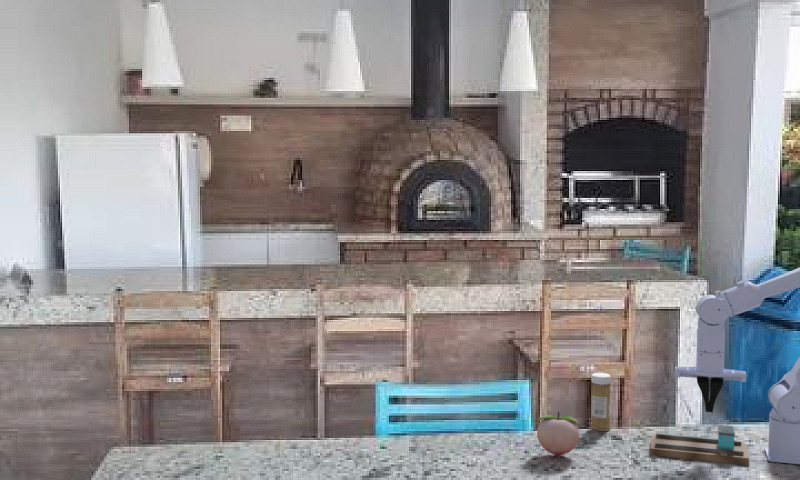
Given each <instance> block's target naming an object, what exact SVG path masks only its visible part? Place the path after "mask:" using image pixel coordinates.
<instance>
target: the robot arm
mask: <svg viewBox="0 0 800 480" xmlns="http://www.w3.org/2000/svg"><path fill="white" fill-rule="evenodd" d="M799 288H800V267H797V268H795V269H793V270H790V271H787V272H785V273H783V274H780V275H778V276H776V277H773V278H771V279H768V280H765V281H763V282H761V283H758V284H756V283H753V282H752V281H746V282H745V281H743V280H740V281H738V282H736V286H733V287H730V288H728V289H725V290H719V289H718V290H716V291H714V293H715V295H714V294H706V295H704V296H702V297H700V298H699V300H698V301H697V303H696V305H695V307H694V309H695V312H696V314H697V316H698V319H697V329H696V357H695V358H696V361H695V362H696V363H695V365H696V366H674V377H675V378H681V377H682V378H691V379H692V378H695V379H696V381H697V382H696V383H697V386H698V387H699V390H700V392H701V394H702V398H703V401H704V407H705V412H707V413H713V411H714V407H715V403H716V401H717V397H718V395H719V393H720V391H721V390H722V388H723V386H724V381H739V382H741V383H747V372H746V371H745V370H737V369H728V368H725V352H726V351H725V349H726V348H725V346H726V343H725V342H726V330H725V322H726V320H727V319H728V317H733V316H737V315H740V314H742V313H746V312H748V311H751V310H753V309H757V308H759V307H761V305H762V303H763V302H764V300H765V299H767V298H770V297H774V296H776V295H779V294H784V293H787V292H789V291H793V290H796V289H799ZM767 396H768V397H767V398H768V401H769V403H770V404H771V405H772V408H771V410H770V412H769V413H768V414H769V416H768V418H769V419H768V420H769V421H768V446H767V447H764V452H765V455H766V458H767V461H768V462H771V463H782V464H790V465H791V464H792V465H793V464H794V465H800V356H799V357H798V359H797V360H796V362H795V363H794V365H793V366H792V368H791V370H789V371H788V372H786V373H785V374H784V375H782V378H781V379H780V380H779V381H778V382H776V383H774V384H773V385H772V386H771V387H770V388H769V390H768V395H767Z"/></svg>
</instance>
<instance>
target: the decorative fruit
mask: <svg viewBox="0 0 800 480" xmlns="http://www.w3.org/2000/svg"><path fill="white" fill-rule="evenodd" d="M538 421H540V422H539V424H538V425H537V426H538V427H537V431H536V436H537V440H538V442H539V444H540V446H541V447H542V448H543V449H544V450H545V451H546V452H548V453H549V454H552V455H555V456H557V457H560V456H562V455H566V454H569V453H570V452H571V451H573V450H574V449H575V448H576V446H577V444H578V443H579V438H580V432H579V427H578V425H581V423H580V421H578V419H576V418H574V417H572V416H569V415H563V416H560V412H559V411H557V416H556V415H551V414H547V415H543V416H540V417H539V418H538V419H536V422H538ZM577 424H578V425H577Z"/></svg>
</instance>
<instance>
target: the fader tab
mask: <svg viewBox="0 0 800 480" xmlns="http://www.w3.org/2000/svg"><path fill="white" fill-rule="evenodd" d="M735 436H736V433H735V428H734V426H733V425H724V424H717V439H718V448H722V449H732V450H734V440H735Z"/></svg>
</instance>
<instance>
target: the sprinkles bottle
mask: <svg viewBox="0 0 800 480" xmlns="http://www.w3.org/2000/svg"><path fill="white" fill-rule="evenodd" d="M590 379H591V429H593V430H594V429H595V430H594V431H597V432H606V431H609V430H610V429H611V383H612V377H611V375H610V374H609V373H606V372H594V373H592V374H591V378H590Z"/></svg>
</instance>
